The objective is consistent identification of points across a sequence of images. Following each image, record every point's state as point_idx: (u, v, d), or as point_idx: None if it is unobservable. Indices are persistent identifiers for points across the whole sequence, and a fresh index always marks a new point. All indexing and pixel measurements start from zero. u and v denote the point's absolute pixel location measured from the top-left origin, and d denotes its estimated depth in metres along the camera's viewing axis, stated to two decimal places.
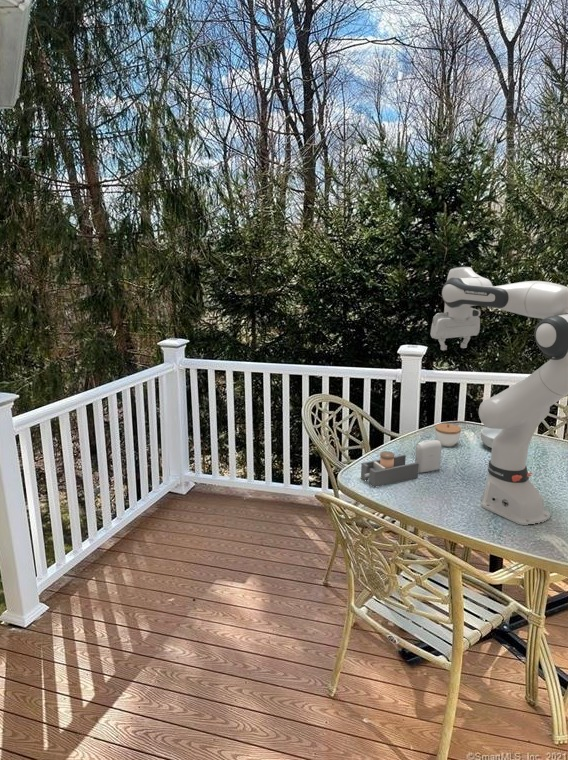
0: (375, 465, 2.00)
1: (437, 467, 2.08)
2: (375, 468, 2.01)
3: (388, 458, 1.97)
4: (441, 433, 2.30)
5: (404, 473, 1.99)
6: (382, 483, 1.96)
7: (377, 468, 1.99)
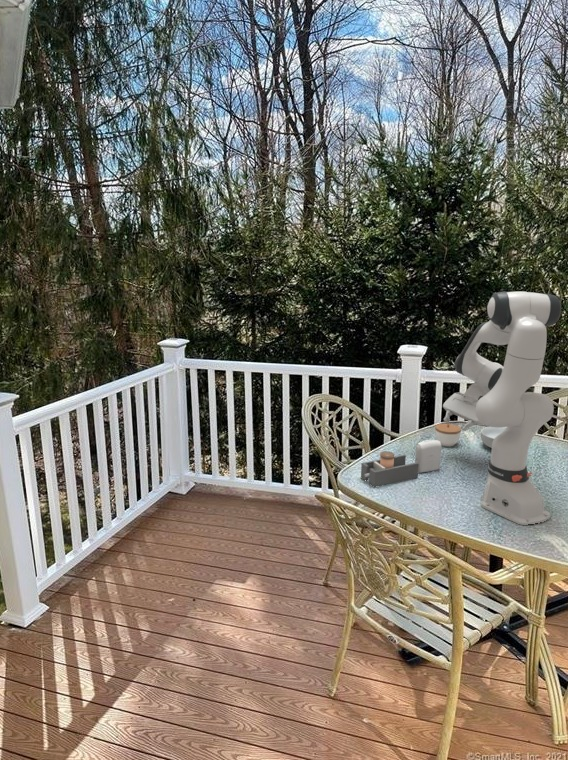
0: (375, 465, 2.00)
1: (437, 467, 2.08)
2: (375, 468, 2.01)
3: (388, 458, 1.97)
4: (441, 433, 2.30)
5: (404, 473, 1.99)
6: (382, 483, 1.96)
7: (377, 468, 1.99)
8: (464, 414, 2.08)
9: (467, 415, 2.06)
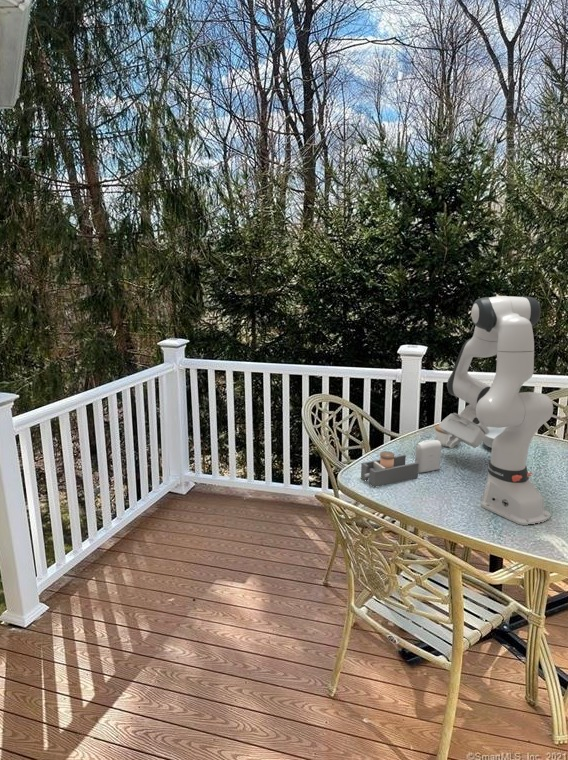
0: (375, 465, 2.00)
1: (437, 467, 2.08)
2: (375, 468, 2.01)
3: (388, 458, 1.97)
4: (441, 433, 2.30)
5: (404, 473, 1.99)
6: (382, 483, 1.96)
7: (377, 468, 1.99)
8: (459, 435, 2.09)
9: (461, 436, 2.08)
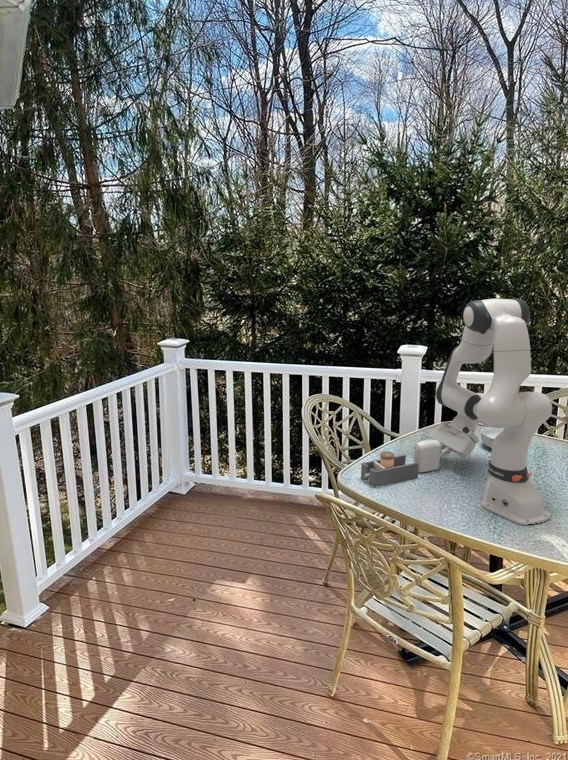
0: (375, 465, 2.00)
1: (436, 467, 2.08)
2: (375, 468, 2.01)
3: (388, 458, 1.97)
4: None
5: (404, 473, 1.99)
6: (382, 483, 1.96)
7: (377, 468, 1.99)
8: (448, 445, 2.08)
9: (451, 446, 2.06)
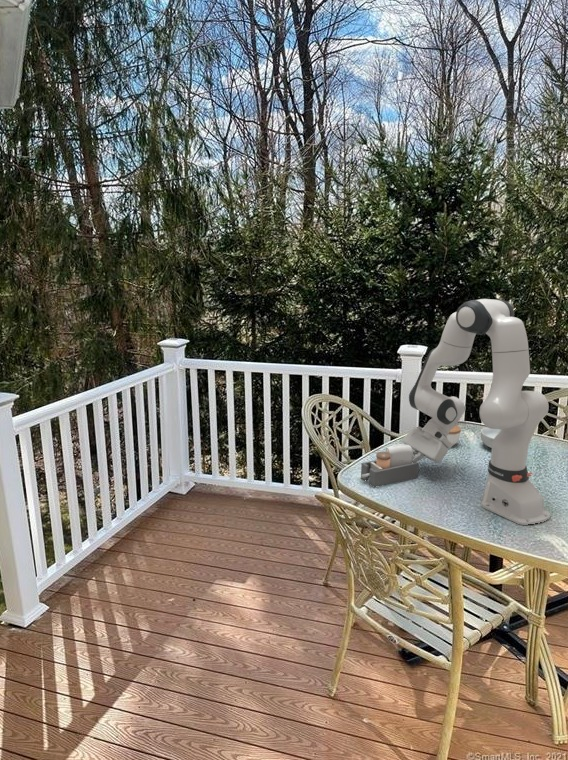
0: (372, 466, 2.00)
1: None
2: None
3: (384, 458, 1.96)
4: None
5: (404, 473, 1.99)
6: (382, 483, 1.96)
7: (374, 469, 1.99)
8: (421, 450, 2.03)
9: (424, 451, 2.01)
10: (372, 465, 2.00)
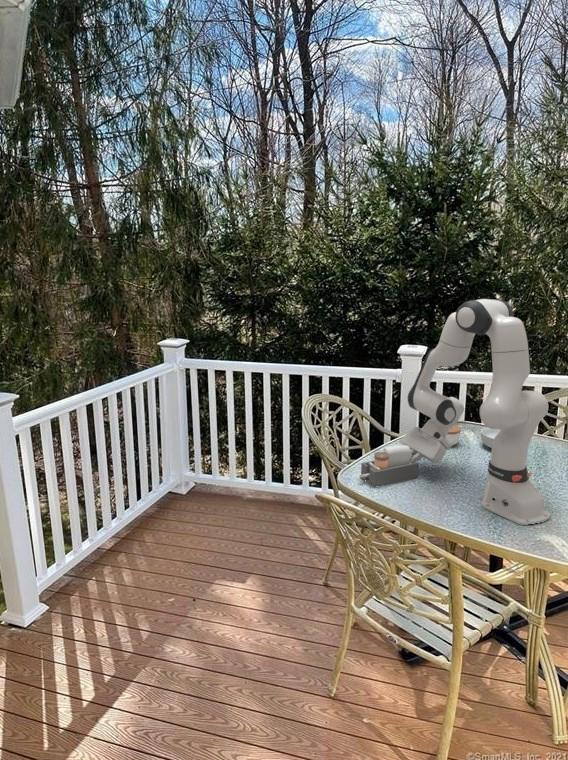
0: (370, 466, 2.00)
1: None
2: None
3: (382, 459, 1.96)
4: None
5: (404, 473, 1.99)
6: (382, 483, 1.96)
7: None
8: (420, 450, 2.02)
9: (422, 452, 2.01)
10: (370, 465, 2.00)
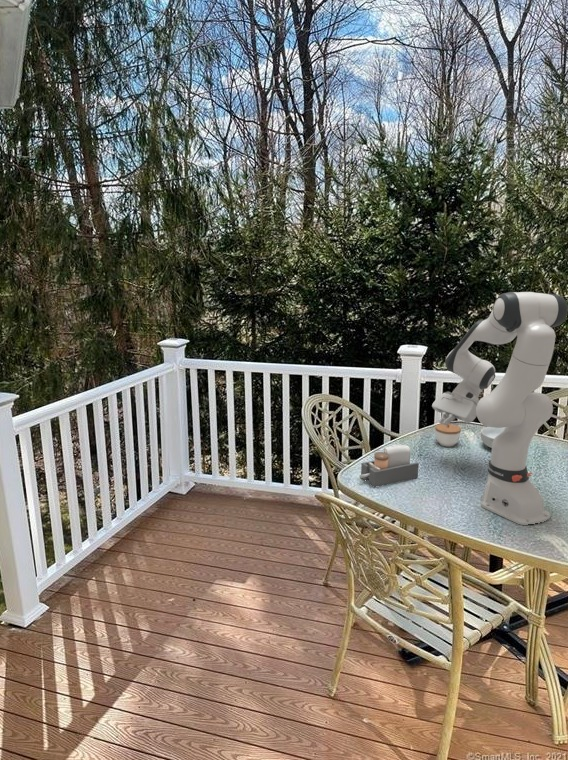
0: (370, 466, 2.00)
1: None
2: None
3: (382, 459, 1.96)
4: (441, 433, 2.30)
5: (404, 473, 1.99)
6: (382, 483, 1.96)
7: None
8: (452, 412, 2.04)
9: (455, 412, 2.02)
10: (370, 465, 2.00)
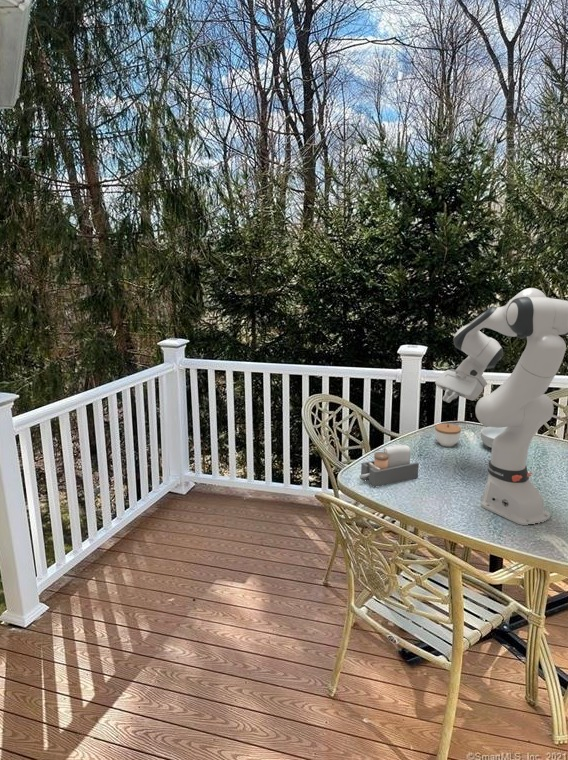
0: (370, 466, 2.00)
1: None
2: None
3: (382, 459, 1.96)
4: (441, 433, 2.30)
5: (404, 473, 1.99)
6: (382, 483, 1.96)
7: None
8: (456, 389, 2.02)
9: (458, 390, 2.01)
10: (370, 465, 2.00)
